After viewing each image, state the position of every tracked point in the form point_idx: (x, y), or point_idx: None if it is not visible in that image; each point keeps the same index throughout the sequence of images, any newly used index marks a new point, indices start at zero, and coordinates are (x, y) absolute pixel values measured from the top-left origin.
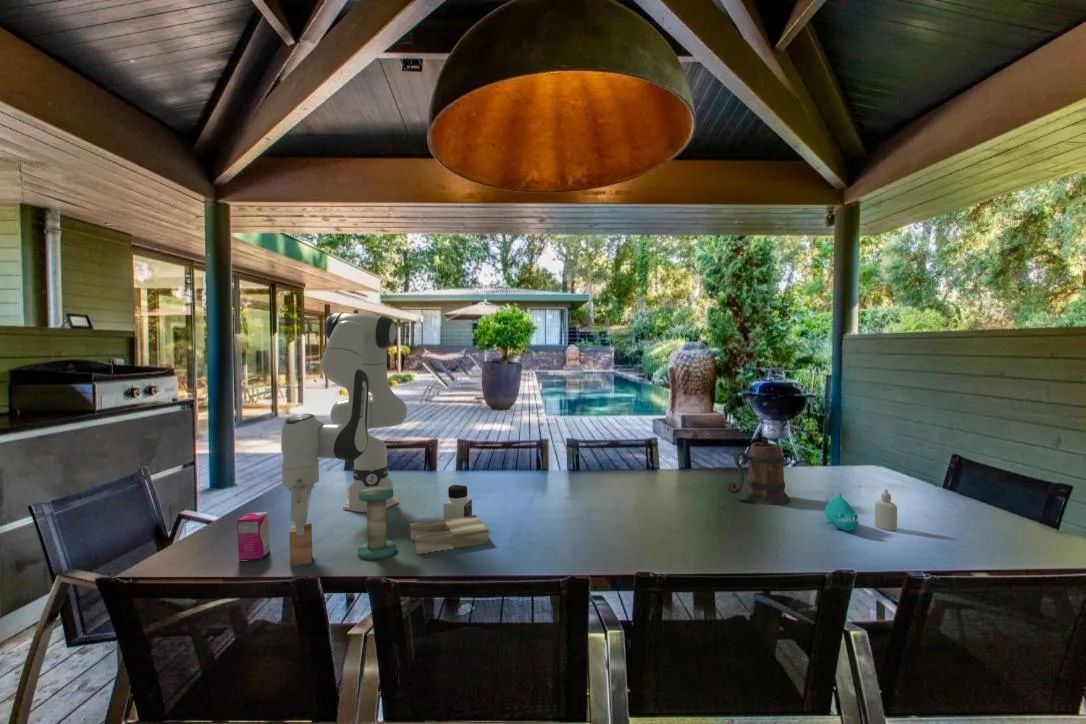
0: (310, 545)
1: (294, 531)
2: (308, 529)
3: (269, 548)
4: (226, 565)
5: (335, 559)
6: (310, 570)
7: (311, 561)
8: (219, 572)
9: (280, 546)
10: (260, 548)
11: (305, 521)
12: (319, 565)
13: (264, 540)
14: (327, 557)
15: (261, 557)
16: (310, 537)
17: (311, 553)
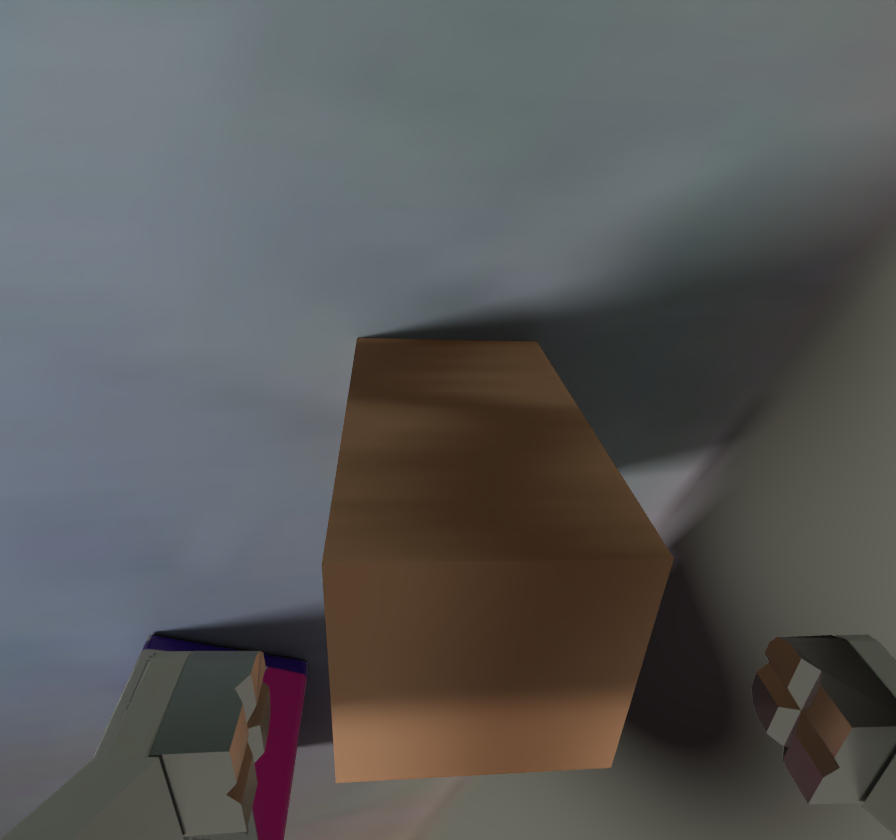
0: (588, 426)
1: (618, 727)
2: (649, 586)
3: (147, 665)
4: (311, 786)
5: (561, 103)
6: (692, 344)
7: (511, 343)
8: (406, 791)
9: (18, 587)
10: (291, 746)
11: (254, 673)
12: (628, 271)
13: None
14: (460, 191)
15: (293, 674)
16: (621, 481)
17: (497, 369)
